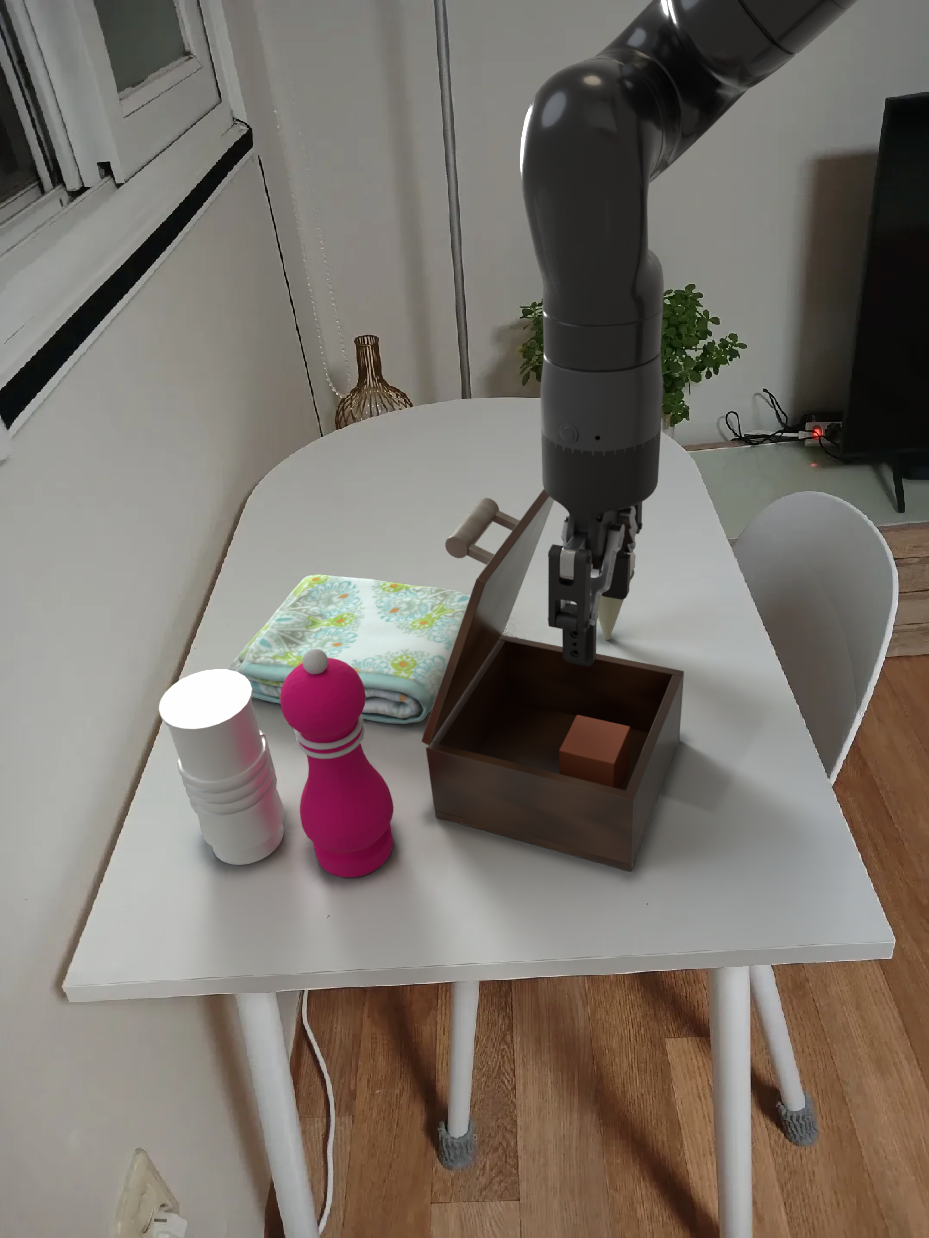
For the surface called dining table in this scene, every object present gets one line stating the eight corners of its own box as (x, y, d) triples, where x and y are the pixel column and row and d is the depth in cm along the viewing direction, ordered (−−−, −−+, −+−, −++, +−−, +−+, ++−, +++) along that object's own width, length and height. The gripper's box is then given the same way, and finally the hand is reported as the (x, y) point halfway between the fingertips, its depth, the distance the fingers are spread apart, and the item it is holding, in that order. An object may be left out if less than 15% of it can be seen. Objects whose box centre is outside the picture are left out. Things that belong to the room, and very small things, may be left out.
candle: (306, 833, 78) (271, 694, 70) (235, 883, 75) (188, 743, 66) (260, 792, 83) (221, 656, 74) (190, 838, 79) (140, 700, 70)
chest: (679, 739, 84) (684, 670, 79) (630, 871, 73) (633, 800, 68) (505, 700, 90) (500, 634, 86) (434, 816, 79) (425, 747, 74)
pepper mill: (411, 821, 79) (380, 625, 67) (381, 891, 73) (342, 691, 61) (330, 808, 81) (287, 615, 69) (295, 874, 75) (241, 678, 63)
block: (629, 766, 81) (630, 726, 78) (613, 804, 77) (614, 763, 75) (577, 754, 82) (576, 714, 80) (559, 790, 79) (558, 750, 76)
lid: (563, 476, 74) (509, 451, 74) (485, 583, 62) (422, 552, 63) (503, 632, 85) (457, 609, 86) (428, 746, 74) (376, 718, 75)
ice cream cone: (620, 659, 94) (623, 527, 85) (573, 645, 96) (572, 515, 87) (640, 631, 97) (645, 502, 88) (595, 619, 100) (595, 491, 91)
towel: (314, 597, 107) (306, 559, 104) (493, 623, 100) (490, 583, 97) (229, 700, 93) (217, 659, 90) (430, 738, 87) (425, 695, 84)
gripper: (628, 479, 53) (620, 698, 63) (685, 383, 64) (671, 583, 73) (503, 462, 56) (514, 675, 66) (578, 373, 67) (578, 568, 76)
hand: (597, 626), depth 69 cm, fingers open, 8 cm apart
